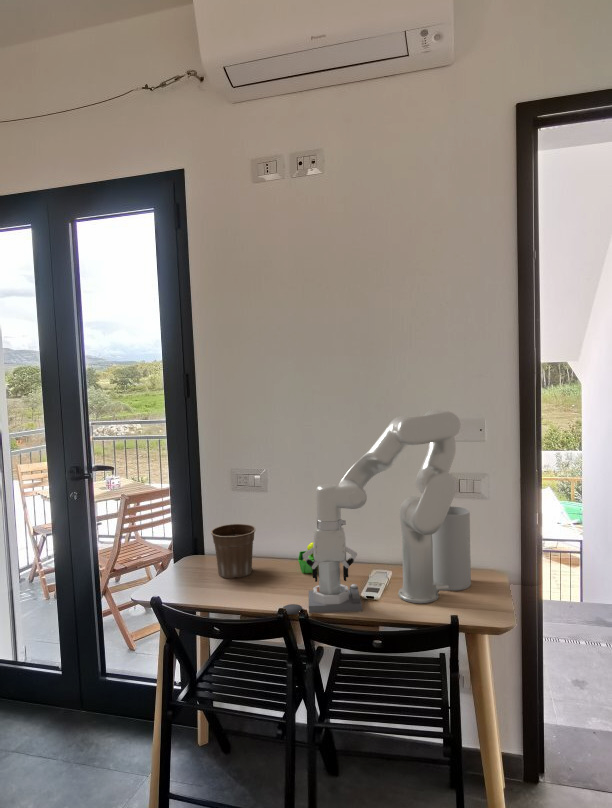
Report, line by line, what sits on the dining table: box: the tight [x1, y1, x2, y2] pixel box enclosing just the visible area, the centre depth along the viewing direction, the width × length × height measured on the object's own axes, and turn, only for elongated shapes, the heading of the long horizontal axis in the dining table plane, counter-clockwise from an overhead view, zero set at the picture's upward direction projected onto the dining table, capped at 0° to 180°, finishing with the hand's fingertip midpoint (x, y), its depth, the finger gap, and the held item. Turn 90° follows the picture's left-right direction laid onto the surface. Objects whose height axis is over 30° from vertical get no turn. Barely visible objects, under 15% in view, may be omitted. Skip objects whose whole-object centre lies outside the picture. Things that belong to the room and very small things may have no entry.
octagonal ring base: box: [308, 583, 363, 613], centre depth 168 cm, size 16×12×4 cm
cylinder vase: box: [432, 505, 472, 591], centre depth 180 cm, size 12×12×25 cm
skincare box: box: [317, 561, 341, 595], centre depth 167 cm, size 6×4×12 cm
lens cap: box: [282, 603, 303, 615], centre depth 164 cm, size 6×6×1 cm
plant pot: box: [210, 523, 256, 579], centre depth 197 cm, size 16×16×16 cm
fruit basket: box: [297, 542, 319, 574], centre depth 200 cm, size 11×9×11 cm
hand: (330, 579), depth 167 cm, fingers open, 8 cm apart
